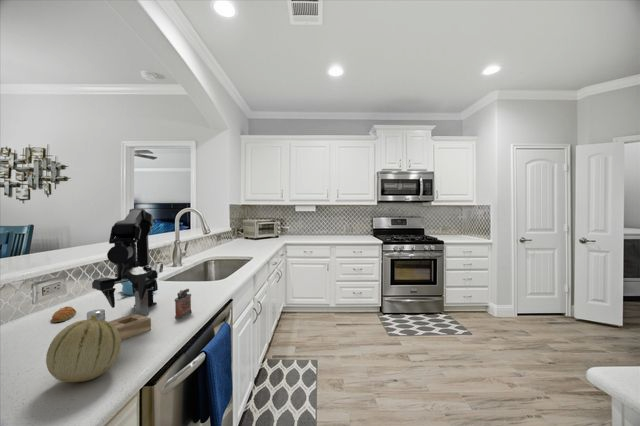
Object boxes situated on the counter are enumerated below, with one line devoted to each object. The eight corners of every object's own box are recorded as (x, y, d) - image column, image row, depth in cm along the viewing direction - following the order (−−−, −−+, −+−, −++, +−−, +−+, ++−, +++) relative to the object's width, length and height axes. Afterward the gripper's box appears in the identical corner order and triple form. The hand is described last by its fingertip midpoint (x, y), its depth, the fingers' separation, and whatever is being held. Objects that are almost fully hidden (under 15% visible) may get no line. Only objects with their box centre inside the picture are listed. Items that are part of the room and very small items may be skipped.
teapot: (153, 286, 161) (153, 266, 161) (158, 292, 149) (158, 271, 149) (120, 291, 152) (119, 270, 152) (122, 298, 140) (121, 275, 140)
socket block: (104, 334, 99) (103, 323, 99) (134, 324, 108) (134, 313, 108) (120, 340, 95) (120, 328, 95) (150, 329, 103) (150, 318, 103)
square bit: (135, 316, 116) (134, 291, 116) (143, 313, 119) (143, 289, 119) (140, 317, 115) (139, 292, 115) (148, 314, 118) (147, 290, 117)
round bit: (84, 329, 104) (83, 312, 104) (100, 324, 108) (100, 308, 108) (91, 332, 101) (91, 315, 101) (108, 327, 106) (107, 310, 106)
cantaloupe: (34, 403, 64) (32, 336, 64) (61, 369, 78) (59, 313, 78) (114, 386, 70) (113, 324, 70) (127, 358, 84) (125, 306, 83)
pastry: (70, 321, 112) (69, 311, 112) (46, 325, 109) (46, 315, 109) (77, 313, 120) (77, 304, 120) (56, 316, 117) (55, 307, 117)
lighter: (180, 319, 113) (180, 293, 113) (172, 318, 114) (172, 292, 113) (193, 311, 121) (193, 287, 121) (186, 311, 121) (185, 287, 121)
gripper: (109, 265, 89) (110, 316, 89) (166, 256, 105) (167, 299, 106) (90, 262, 94) (91, 310, 95) (148, 254, 111) (148, 295, 111)
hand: (127, 303), depth 101 cm, fingers open, 9 cm apart
